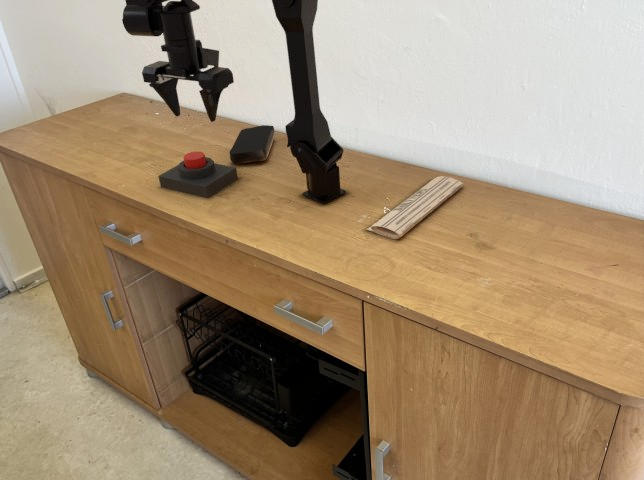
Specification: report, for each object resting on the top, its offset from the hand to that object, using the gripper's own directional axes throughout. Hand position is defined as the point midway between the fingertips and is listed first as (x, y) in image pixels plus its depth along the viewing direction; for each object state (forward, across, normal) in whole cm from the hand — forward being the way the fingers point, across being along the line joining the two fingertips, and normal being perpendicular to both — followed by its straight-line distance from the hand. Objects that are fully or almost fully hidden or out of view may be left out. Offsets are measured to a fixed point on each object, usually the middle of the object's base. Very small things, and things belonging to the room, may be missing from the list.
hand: (195, 118), depth 125 cm
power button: (+9, 0, +2) cm, 10 cm away
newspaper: (+14, -47, -5) cm, 49 cm away
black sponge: (+14, -1, -16) cm, 21 cm away
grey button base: (+13, 0, +2) cm, 14 cm away
